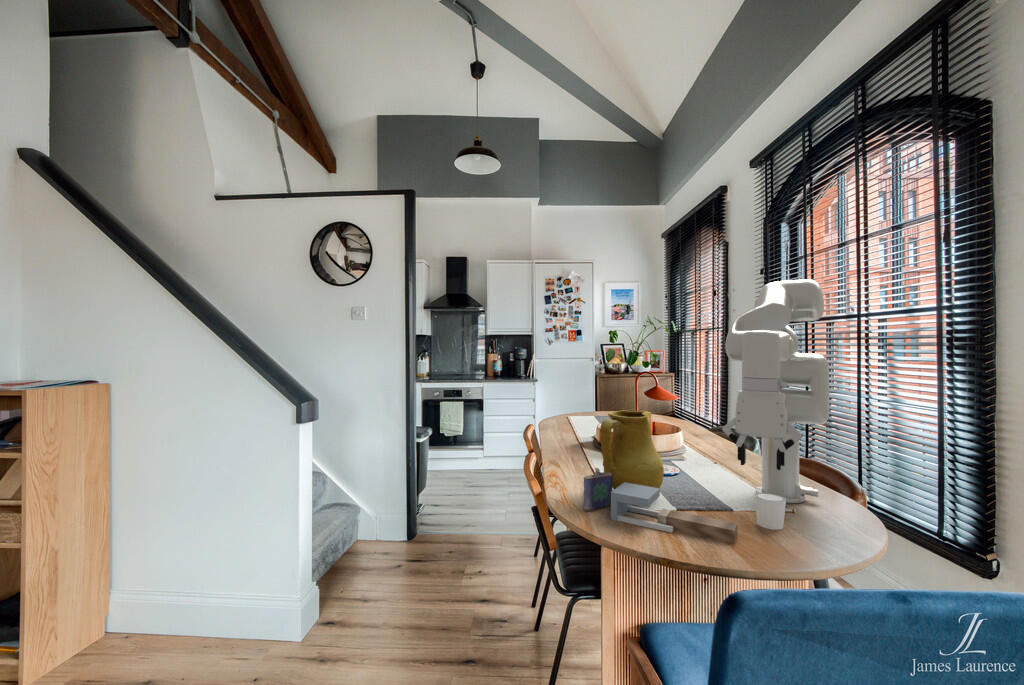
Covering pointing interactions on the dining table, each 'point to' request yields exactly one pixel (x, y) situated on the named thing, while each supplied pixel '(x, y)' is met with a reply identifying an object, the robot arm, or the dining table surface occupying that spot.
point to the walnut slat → (699, 525)
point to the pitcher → (630, 449)
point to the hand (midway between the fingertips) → (760, 465)
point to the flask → (597, 491)
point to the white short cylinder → (770, 510)
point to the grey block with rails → (636, 496)
